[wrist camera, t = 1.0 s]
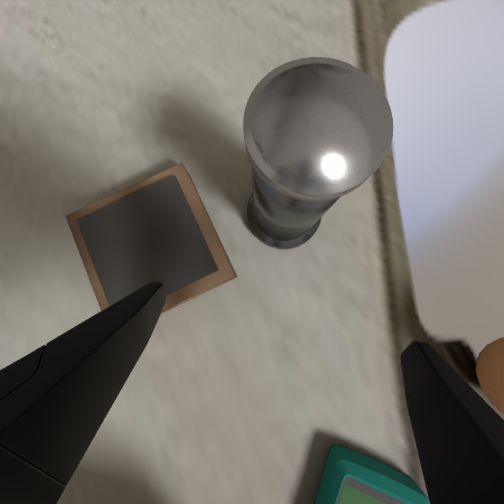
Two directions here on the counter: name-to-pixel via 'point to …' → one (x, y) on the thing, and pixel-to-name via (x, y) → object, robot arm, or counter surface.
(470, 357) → the counter surface
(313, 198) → the grey plastic cylinder
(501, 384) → the egg
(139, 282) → the stand
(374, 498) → the digital multimeter
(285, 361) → the counter surface
